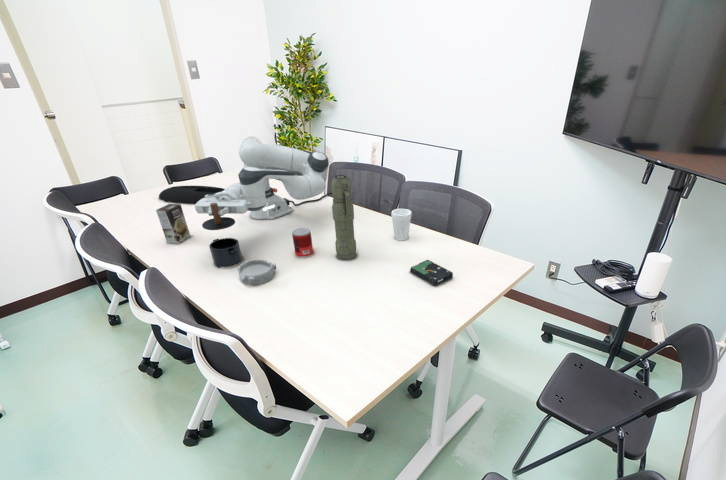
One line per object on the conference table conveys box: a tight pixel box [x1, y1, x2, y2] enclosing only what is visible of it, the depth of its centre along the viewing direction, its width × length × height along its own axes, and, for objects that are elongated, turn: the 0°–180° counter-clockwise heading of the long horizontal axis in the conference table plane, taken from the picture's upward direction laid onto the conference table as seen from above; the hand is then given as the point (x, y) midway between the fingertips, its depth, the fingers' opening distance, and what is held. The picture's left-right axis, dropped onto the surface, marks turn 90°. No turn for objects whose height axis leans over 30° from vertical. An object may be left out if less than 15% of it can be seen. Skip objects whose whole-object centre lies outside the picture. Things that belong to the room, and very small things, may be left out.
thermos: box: [331, 174, 357, 261], centre depth 163 cm, size 9×12×35 cm
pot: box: [208, 237, 244, 269], centre depth 165 cm, size 11×17×8 cm
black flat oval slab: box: [158, 185, 226, 205], centre depth 234 cm, size 25×41×5 cm, turn 82°
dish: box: [237, 259, 277, 286], centre depth 155 cm, size 14×14×5 cm
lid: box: [201, 203, 236, 231], centre depth 156 cm, size 12×12×9 cm
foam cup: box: [390, 208, 413, 241], centre depth 186 cm, size 10×9×13 cm
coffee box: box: [155, 203, 191, 245], centre depth 181 cm, size 9×6×16 cm
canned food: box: [291, 227, 314, 258], centre depth 171 cm, size 8×8×11 cm
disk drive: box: [409, 259, 454, 287], centre depth 159 cm, size 10×3×15 cm
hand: (215, 213), depth 155 cm, fingers closed on lid, 2 cm apart
